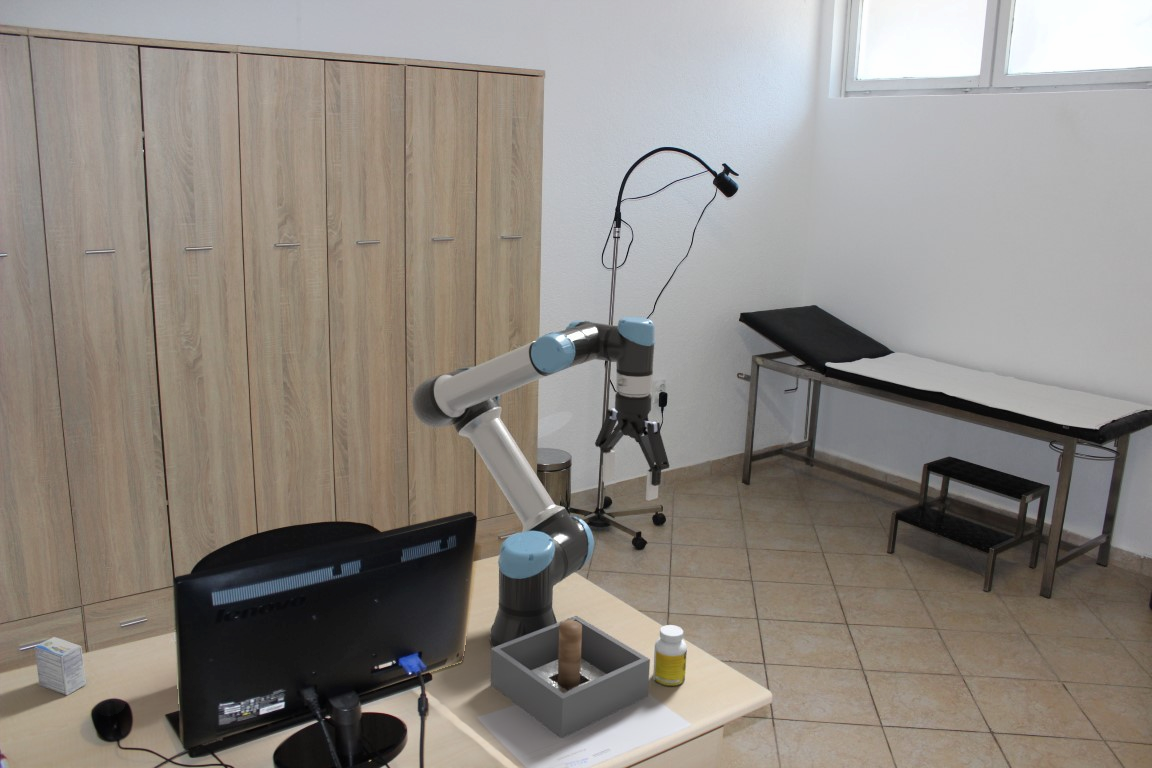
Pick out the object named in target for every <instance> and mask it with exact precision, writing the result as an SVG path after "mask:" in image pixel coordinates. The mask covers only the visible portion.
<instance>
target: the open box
mask: <svg viewBox="0 0 1152 768" xmlns="http://www.w3.org/2000/svg"><path fill="white" fill-rule="evenodd" d="M568 620H573V621H577V622H579V623H581V625H582V642H581V658H582V659H584V660H585V661H587V662H588V663H590V664H591V665H593V666H595V667H596V668H598V669H599V670H601V671H602V672H604V673H606V675H604V676H602V677H599V678H597V679H595V680H593V681H590V682H588V683H586V684H584V685H581V686H579V687H577V688H575V689H573V690H570V691H568V692H566V693H562V692H561V691H559V690H558V689H556V688H555V687H554V686H552V685H551V684H549V683H548V682H546V681H545V680H544V679H542V678H541V677H539V676H538V675H536V674H535V673H533V672H532V671H531V670H534V669H536V668H538V667H541V666H543V665H546V664H548V663H550V662H553V661H555V660H558V655H559V625H560V623H561V622H563V621H568ZM650 663H651V659H650V658H649V657H647V656H645V655H644V654H642V653H640V652H638V651H637V650H635V649H633V648H632V647H630V646H629V645H626V644H625V643H623V642H621V641H620V640H618V639H616V638H615V637H613V636H612V635H609V634H608V633H606V632H605V631H603V630H602V629H600V628H598V627H596V626H595V625H593V624H591V623H590V622H588V621H586V620H584V619H583V618H581V617H579V616H577V615H575V616H572V617H569V618H567V619H563V620H561V621H559V622H557V623H556V624H553V625H551V626H548V627H545V628H543V629H540V630H538V631H535V632H532V633H530V634H527V635H525V636H522V637H519V638H517V639H514V640H512V641H509V642H506V643H504V644H501V645H499V646H496V647H493V646H492V648H491V649H490V686H491V687H493V688H494V689H495V690H497V691H498V692H500V693H501V694H502V695H503V696H505V698H507V699H509V700H510V701H511V702H513V703H514V704H515V705H516V706H518V707H519V708H520V709H521V710H523V711H525V712H526V713H527V714H528V715H529V716H531V717H533V718H534V719H535V720H537V721H538V722H539V723H540V724H542V725H543V726H544V727H545V728H548V730H550V731H552V732H553V733H554V734H555V735H556V736H558V737H559V738H560V739H563V738H565V737H567V736H569V735H571V734H573V733H576V732H578V731H580V730H581V729H583V728H586V727H588V726H590V725H592V724H594V723H597V722H598V721H601V720H603V719H604V718H607V717H608V716H610V715H612V714H614V713H617V712H618V711H620V710H622V709H625V708H626V707H628V706H630V705H633V704H635V703H637V702H639V701H641V700H643V699H645V698H647V697H649V685H650V684H649V683H650V668H651V667H650Z"/></svg>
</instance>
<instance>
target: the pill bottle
mask: <svg viewBox="0 0 1152 768" xmlns="http://www.w3.org/2000/svg"><path fill="white" fill-rule="evenodd" d="M687 652H688V646H687V643H686V642H685V640H684V629H682V627H680V626H678V625H673V624H666V625H662V626H661V627H660V630H659V638H657V640H655V643H654V653H653V654H654V656H653V674H652V675H653V676H652V679H653V680H654V682H655V683H656V684H658V685H660V686H662V687H667V688H676V687H679V686H682V685H683V684H684V683H685V680H686V670H687V669H686V668H687Z"/></svg>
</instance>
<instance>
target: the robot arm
mask: <svg viewBox="0 0 1152 768" xmlns="http://www.w3.org/2000/svg"><path fill="white" fill-rule="evenodd" d="M655 344H656V340H655V324H654V322H653V321H652V320H651V319H649V318H646V317H639V316H638V317H635V316H627V317H621V318H620V319H619V320H618V323H617V325H612V324H606V323H598V322H593V321H590V320H584V321H583V320H575V321H571V322H570V323H569V324H568V326H566V328H565V329H564V330H560V331H555V332H553V331H552V332H549V333H546V334H544V335H541V336H540V337H538V338H537V339H535V340H534V341H532V342H529V343H527V344H524V345H523V346H520V347H517V348H516V349H513V350H510V351H508V352H505V353H503V354H501V355H499V356H497V357H494V358H492V359H489V360H487V361H485V362H482V363H479V364H478V365H475V366H472V367H462V368H458V369H456V370H453V371H450V372H447V373H443V374H440V375H436V376H432V377H429V378H426V379H425V380H423V381H422V382H420V383H419V384H418V385H417V387H416V389H415V390H414V392H413V395H412V400H411V402H412V403H411V405H412V409H413V413H414V414H415V416H416V417H417V418H418V420H419V421H420V422H421V423H423V424H424V425H426V426H429V427H432V428H445V427H449V426H453V427H454V429H455V430H456V432H457V433H458V435H459V436H461V437H465V438H468V439H469V440H470V443H472V445H473V447H474V448H475V450H476V452H477V453H478V455H479V456H480V457H481V460H482V461H483V463H484V465H485V466H486V467H487V469H488V471H489V472H490V474H491V476H492V477H493V479H494V480H495V482H496V484H497V485H498V486H499V488H500V490H501V491H502V493H503V495H504V496H505V498H506V500H507V501H508V502H509V504H510V506H511V507H512V509H513V511H514V512H515V514H516V515H517V517H518V519H519V521H520V522H521V523H522V532H521V531H520V532H516V533H514V534H511V535H509V536H508V537H507V538H506V539H504V540H503V542H501V545H500V549H499V555H498V561H497V562H498V563H497V564H498V609H497V611H496V614H495V617H494V622H493V624H492V626H491V628H490V637H489V639H490V644H491V647H492V648H493V647H496V646H499V645H501V644H504V643H506V642H509V641H512V640H514V639H517V638H519V637H522V636H525V635H527V634H530V633H532V632H535V631H538V630H540V629H543V628H545V627H548V626H551V625H553V624H556V623H558V622H557V621H558V620H557V617H556V615H555V613H554V609H553V601H554V599H553V595H554V587H555V586H556V585H557V584H559V583H560V582H562V581H563V580H565V579H567V578H568V577H569V576H571V575H573V574H575V573H576V572H578V571H579V570H581V569H582V568H583V567H584V565H586V564H587V563H588V562H589V561H590V560H591V558H592V556H593V553H594V548H595V541H594V540H595V539H594V536H593V531H592V530H591V527H589V525H588V524H587V523H586V521H584V520H583V519H582V518H578V517H577V516H572V515H570V513H569V512H568V510H567V509H566V507H564V506H563V505H562V506H561V505H557V504H555V502H554V501H553V499H552V498H551V496H550V494H549V493H548V491H547V489H546V488H545V486H544V485H543V484H542V482H541V481H540V479H539V477H538V475H537V474H536V472H535V471H534V469H533V468H532V466H531V464H530V463H529V461H528V460H527V458H526V456H525V454H523V452H522V450H521V449H520V447H519V446H518V444H517V442H516V441H515V439H514V438H513V436H512V434H511V433H510V432H509V430H508V428H507V426H506V425H505V423H504V422H503V421H502V419H501V415H502V409H503V408H502V407H501V405H500V403H499V401H500V398H501V397H500V395H501V396H502V395H503V394H505V393H508V392H511V391H513V390H515V389H518V388H521V387H523V386H526V385H527V384H531V383H532V382H533V383H534V382H535V381H538V380H540V379H542V378H546V377H548V376H551V375H553V374H557V373H559V372H561V371H564V370H566V369H569V368H572V367H575V366H578V365H581V364H583V363H587V362H591V361H593V360H599V361H606V362H610V363H611V362H612V363H615V364H616V369H615V371H616V376H615V377H616V378H615V379H616V380H615V391H616V393H615V396H614V401H615V402H614V407H613V408H607V410H606V414H605V419H604V422H603V424H602V425H601V427H600V430H599V433H598V435H597V437H596V440H595V442H594V445H595V447H596V448H599V449H600V452H601V465H602V477H601V479H602V482H603V483H607V482H608V483H609V482H611V481H614V479H615V462H616V461H615V459H616V458H615V457H616V451H615V450H614V449H615V446H616V445H617V444H618V443H619V441H620V440H621V439H622V437H624V436H627V437H628V436H629V438H632V439H634V441H635V442H636V443H638V444H639V446H640V449H641V452H642V453H643V455H644V458H645V460H646V463H647V465H648V467H649V469H647V472H646V489H645V490H646V491H645V500H646V501H648V502H650V501H652V500H656V499H658V498H659V485H660V484H661V481H662V480H661V478H662V477H661V476H662V471H664V470H666V469H669V468H670V464H669V463H670V462H669V459H668V455H667V451H666V449H665V444H664V441H663V438H662V434H661V422H660V421H659V420H656V421H650V420H649V414H650V412H651V411H652V394H651V393H652V392H653V379H654V378H653V372H654V370H653V367H654V353H655V351H654V350H655Z"/></svg>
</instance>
